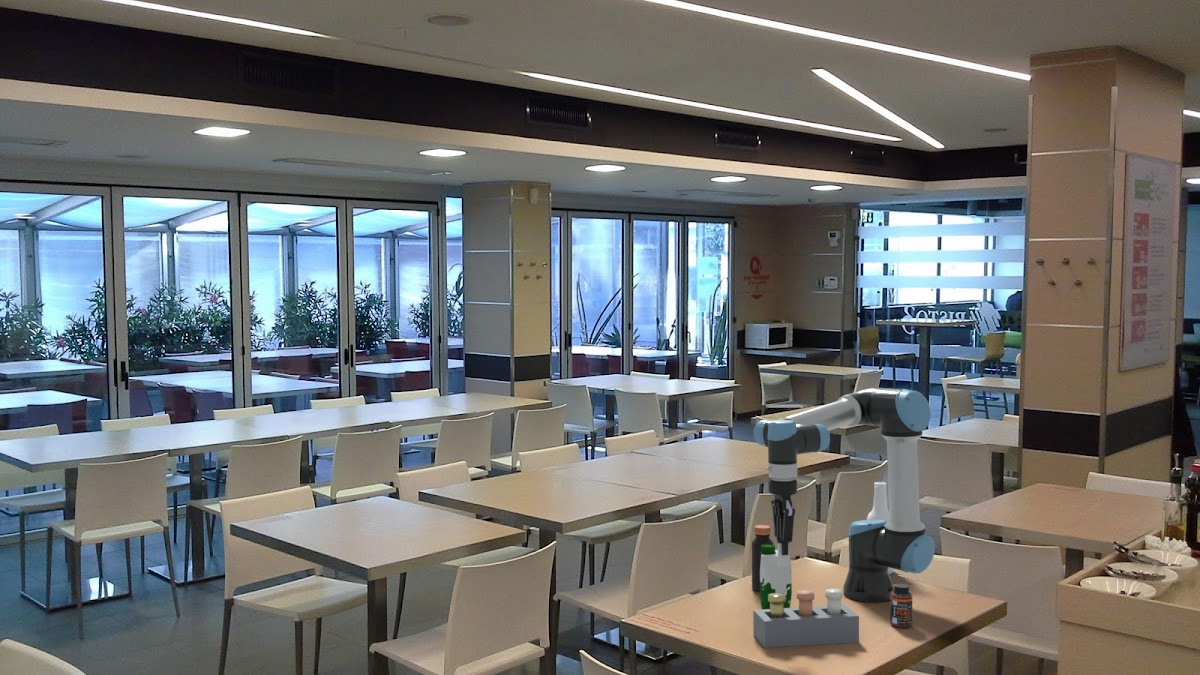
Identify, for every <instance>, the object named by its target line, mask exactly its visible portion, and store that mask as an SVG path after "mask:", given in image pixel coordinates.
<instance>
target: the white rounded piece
mask: <svg viewBox="0 0 1200 675" xmlns="http://www.w3.org/2000/svg"><path fill="white" fill-rule="evenodd" d="M824 591H825V592H824V597H825V598H826V606H827V615H836V614H841V605H842V599H843V597H844V596H843V595H844V594H843V589H838V588H828V589H825V590H824Z"/></svg>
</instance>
